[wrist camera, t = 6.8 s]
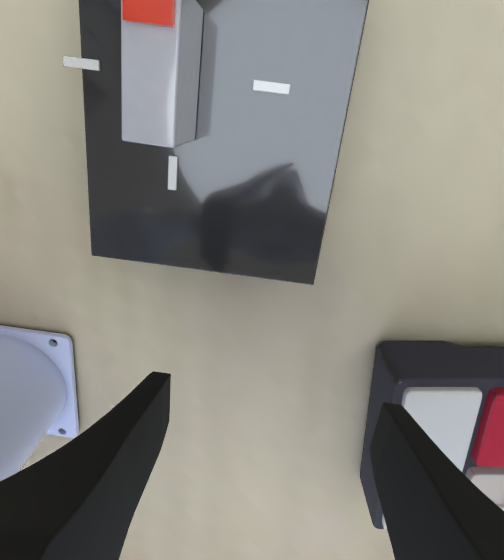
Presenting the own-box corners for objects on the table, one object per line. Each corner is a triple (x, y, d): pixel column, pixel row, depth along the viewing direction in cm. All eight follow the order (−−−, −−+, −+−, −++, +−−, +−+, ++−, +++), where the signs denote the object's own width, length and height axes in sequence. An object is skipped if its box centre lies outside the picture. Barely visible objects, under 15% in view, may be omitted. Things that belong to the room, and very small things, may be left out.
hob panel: (104, 235, 21) (76, 254, 18) (93, -51, 16) (53, -86, 13) (309, 262, 21) (313, 287, 18) (361, -19, 16) (379, -47, 13)
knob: (195, 141, 16) (172, 149, 13) (151, 134, 16) (117, 141, 13) (203, 7, 14) (180, -24, 11) (154, 1, 14) (116, -32, 11)
